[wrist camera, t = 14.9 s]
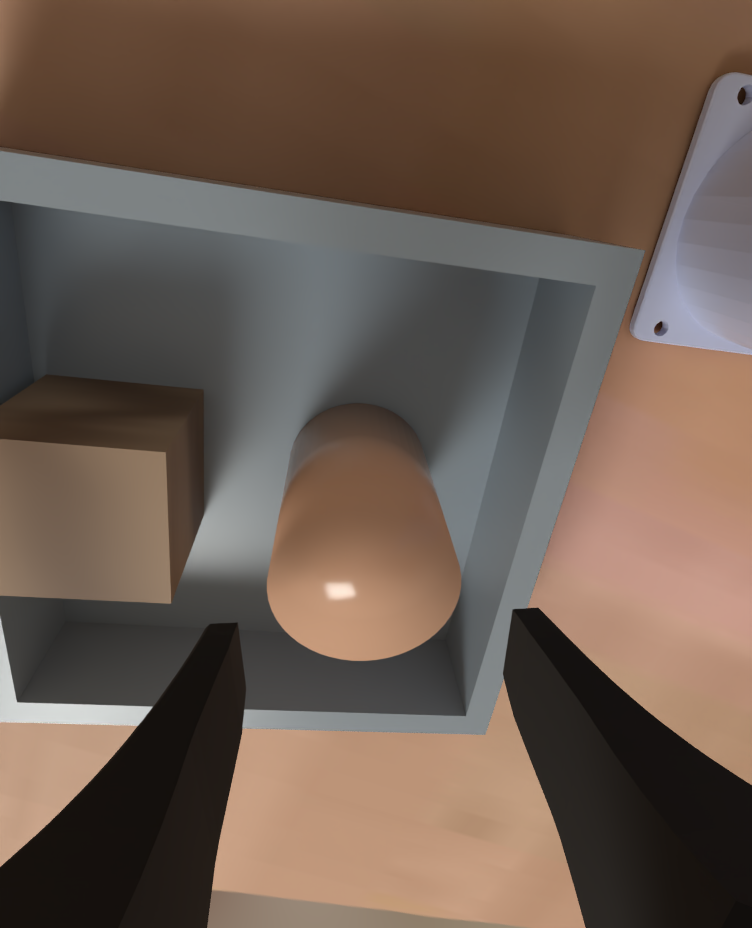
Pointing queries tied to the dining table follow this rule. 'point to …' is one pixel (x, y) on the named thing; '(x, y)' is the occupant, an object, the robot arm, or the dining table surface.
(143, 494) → the walnut cube
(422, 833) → the dining table surface
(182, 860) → the robot arm
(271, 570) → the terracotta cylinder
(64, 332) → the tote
